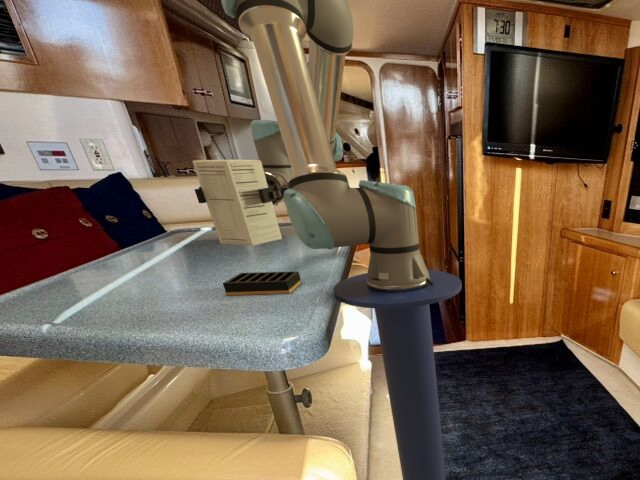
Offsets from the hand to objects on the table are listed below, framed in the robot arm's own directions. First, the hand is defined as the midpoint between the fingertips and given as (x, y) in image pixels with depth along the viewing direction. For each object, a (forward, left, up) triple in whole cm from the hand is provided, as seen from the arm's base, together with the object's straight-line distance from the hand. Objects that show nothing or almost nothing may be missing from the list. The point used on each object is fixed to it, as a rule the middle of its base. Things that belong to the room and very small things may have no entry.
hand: (230, 196), depth 85 cm
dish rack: (0, -4, -21) cm, 22 cm away
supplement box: (0, -4, -10) cm, 11 cm away
